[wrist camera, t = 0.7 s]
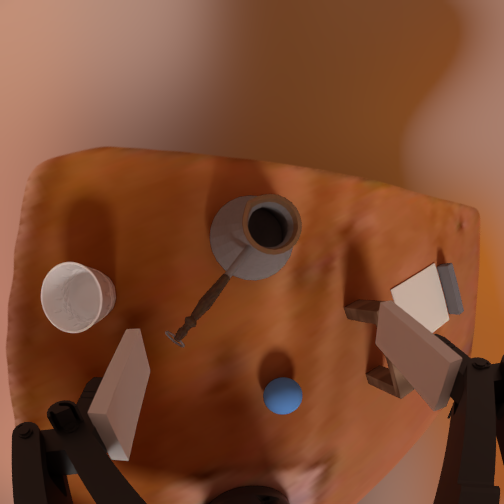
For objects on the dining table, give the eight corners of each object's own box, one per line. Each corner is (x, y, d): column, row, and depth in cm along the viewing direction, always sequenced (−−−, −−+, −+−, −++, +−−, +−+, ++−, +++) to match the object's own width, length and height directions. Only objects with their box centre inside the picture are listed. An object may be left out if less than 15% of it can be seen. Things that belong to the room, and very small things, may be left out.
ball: (299, 396, 44) (313, 408, 39) (267, 412, 43) (277, 426, 38) (287, 366, 44) (300, 376, 39) (253, 382, 43) (263, 394, 38)
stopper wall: (453, 310, 52) (463, 310, 49) (448, 313, 52) (459, 314, 49) (441, 264, 52) (451, 262, 50) (436, 267, 52) (447, 266, 49)
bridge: (382, 374, 48) (415, 388, 39) (368, 383, 47) (401, 399, 38) (358, 299, 48) (393, 301, 39) (343, 307, 47) (376, 311, 38)
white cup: (110, 258, 41) (89, 251, 31) (128, 312, 40) (112, 321, 31) (63, 276, 39) (32, 274, 29) (80, 329, 39) (54, 341, 29)
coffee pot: (244, 185, 46) (271, 142, 31) (301, 237, 47) (351, 218, 32) (144, 296, 41) (123, 302, 27) (207, 350, 42) (219, 382, 28)
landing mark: (448, 319, 52) (449, 319, 52) (407, 350, 49) (408, 350, 49) (433, 263, 52) (434, 263, 52) (390, 289, 49) (391, 289, 49)
